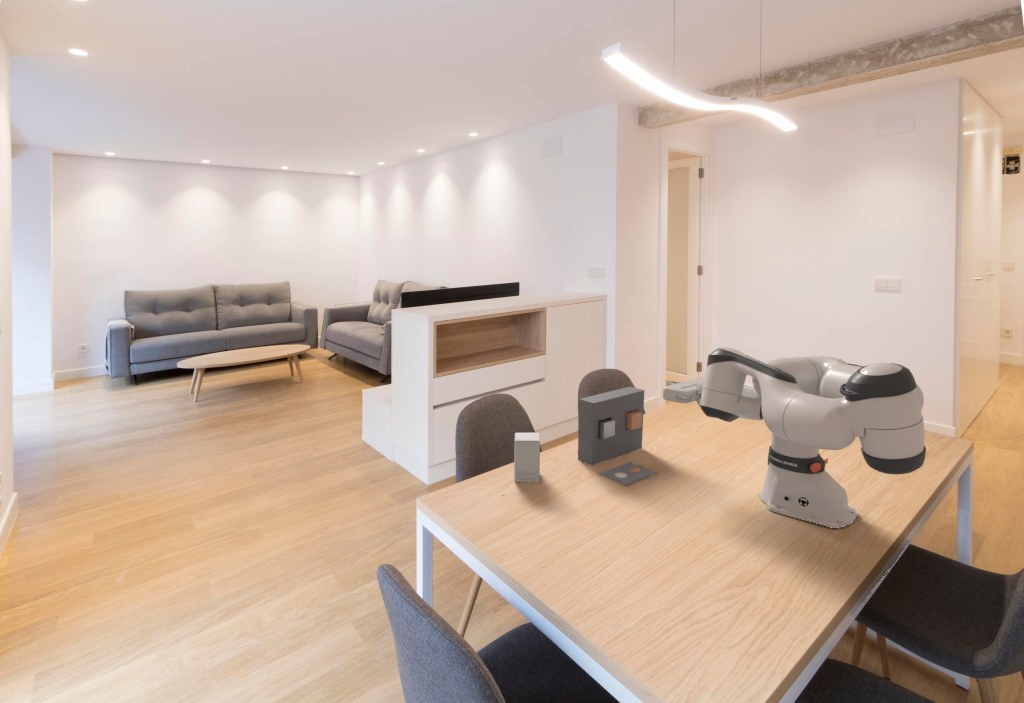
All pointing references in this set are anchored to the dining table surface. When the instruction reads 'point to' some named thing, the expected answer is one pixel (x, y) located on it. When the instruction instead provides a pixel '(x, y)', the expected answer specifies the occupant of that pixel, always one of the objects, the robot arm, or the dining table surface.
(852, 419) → the robot arm
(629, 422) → the button terracotta
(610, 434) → the grey button
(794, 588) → the dining table surface
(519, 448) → the supplement box
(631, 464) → the pattern card
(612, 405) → the panel
